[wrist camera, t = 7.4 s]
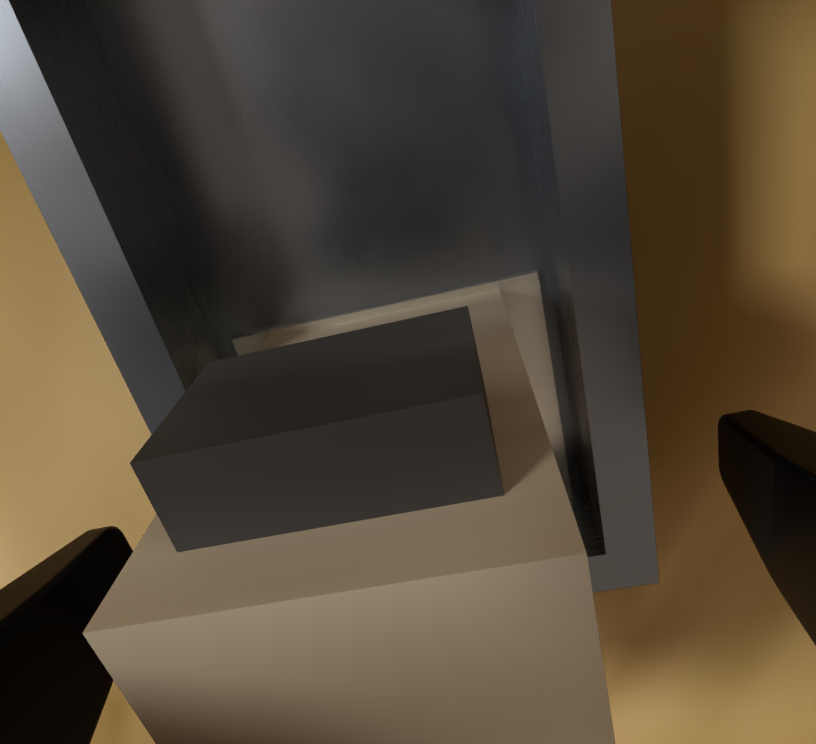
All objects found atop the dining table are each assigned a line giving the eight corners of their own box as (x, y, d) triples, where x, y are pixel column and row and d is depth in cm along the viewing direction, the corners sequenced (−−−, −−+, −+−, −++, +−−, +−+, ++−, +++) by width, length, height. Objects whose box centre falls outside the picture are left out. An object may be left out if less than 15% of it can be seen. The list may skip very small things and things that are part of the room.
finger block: (535, 486, 11) (632, 855, 6) (333, 521, 12) (253, 891, 6) (487, 227, 9) (569, 437, 4) (245, 284, 10) (19, 538, 4)
